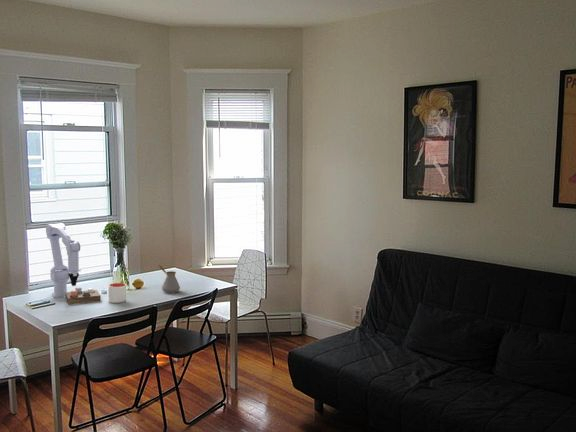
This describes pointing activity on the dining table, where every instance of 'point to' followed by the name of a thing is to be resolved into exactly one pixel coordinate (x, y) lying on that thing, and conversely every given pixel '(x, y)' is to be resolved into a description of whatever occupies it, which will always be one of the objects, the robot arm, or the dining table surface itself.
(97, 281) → the dining table surface
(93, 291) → the key ivory
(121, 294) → the cup
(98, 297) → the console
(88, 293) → the key black
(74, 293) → the key terracotta
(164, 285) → the coffee pot
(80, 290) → the key grey
